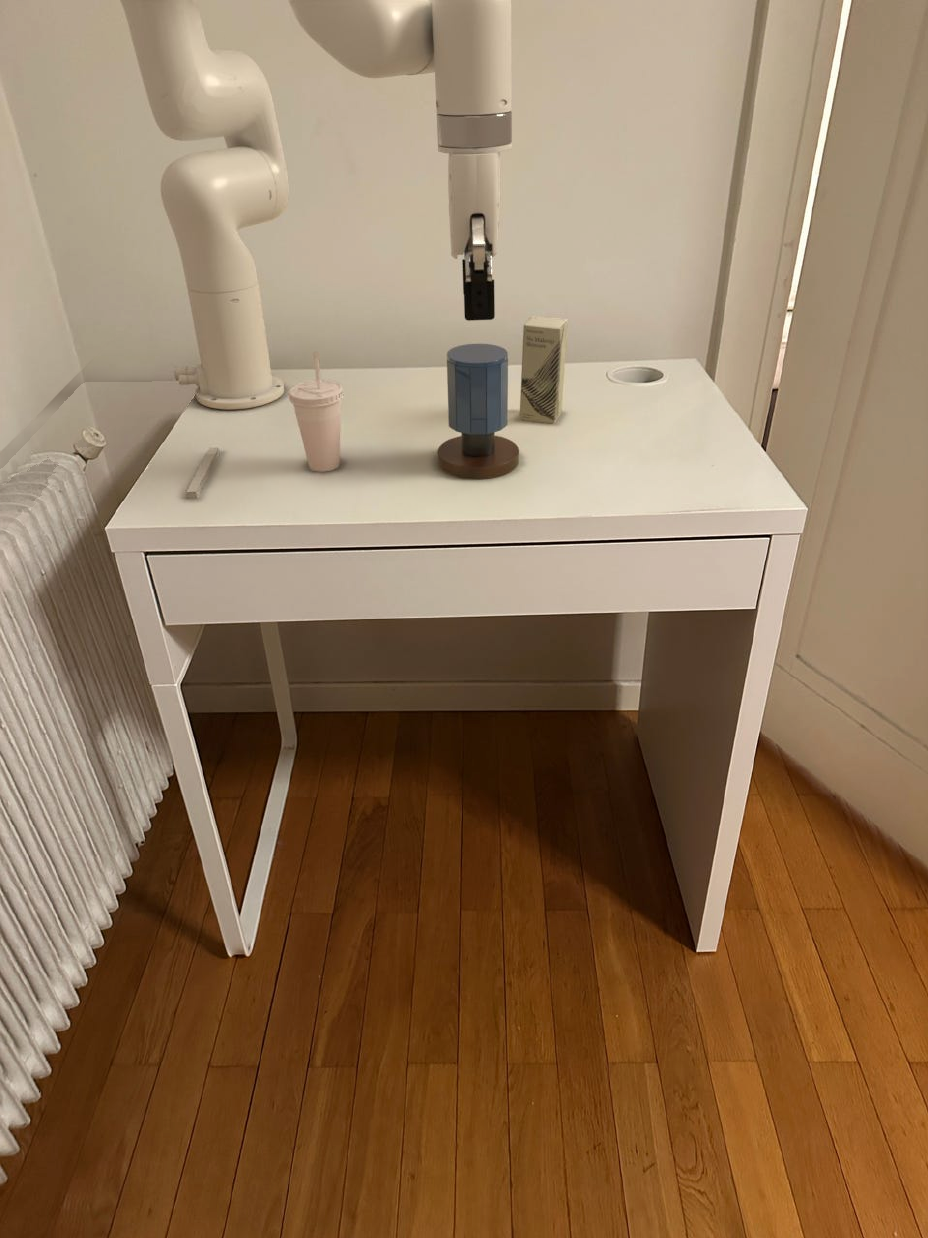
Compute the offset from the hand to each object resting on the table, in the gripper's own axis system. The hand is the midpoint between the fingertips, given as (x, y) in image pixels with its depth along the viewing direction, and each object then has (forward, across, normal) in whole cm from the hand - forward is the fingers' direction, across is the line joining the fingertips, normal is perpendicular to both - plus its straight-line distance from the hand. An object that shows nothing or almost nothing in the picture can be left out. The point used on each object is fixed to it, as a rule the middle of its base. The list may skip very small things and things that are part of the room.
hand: (478, 306), depth 100 cm
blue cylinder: (+14, 0, 0) cm, 14 cm away
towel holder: (+19, 0, 0) cm, 19 cm away
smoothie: (+19, 0, -19) cm, 27 cm away
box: (+19, -14, +9) cm, 25 cm away
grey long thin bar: (+19, +2, -34) cm, 39 cm away
